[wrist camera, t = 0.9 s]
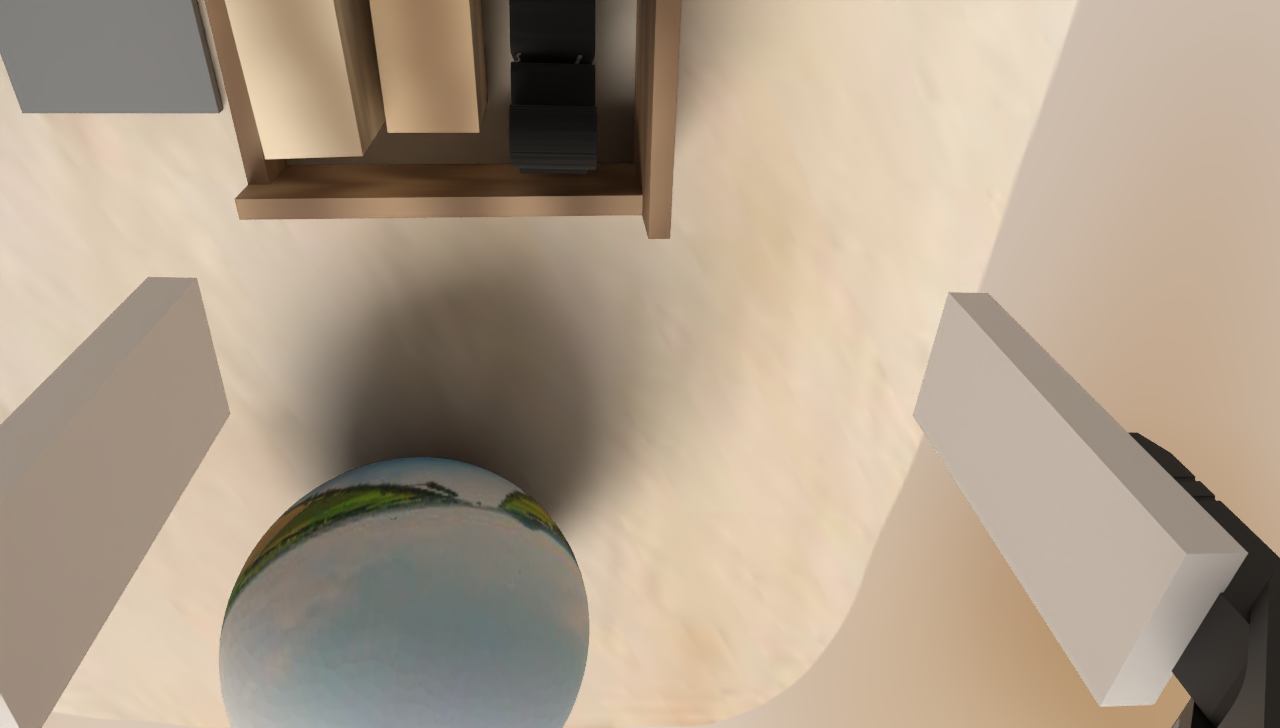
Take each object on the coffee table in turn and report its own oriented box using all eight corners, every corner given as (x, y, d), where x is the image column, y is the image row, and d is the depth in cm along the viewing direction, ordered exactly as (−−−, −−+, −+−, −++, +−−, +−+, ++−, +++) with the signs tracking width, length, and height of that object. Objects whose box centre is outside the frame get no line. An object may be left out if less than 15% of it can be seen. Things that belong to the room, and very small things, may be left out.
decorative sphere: (622, 431, 53) (657, 699, 36) (537, 633, 62) (532, 921, 45) (303, 357, 48) (168, 628, 31) (263, 589, 57) (141, 895, 40)
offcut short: (407, 99, 41) (387, 132, 36) (379, -134, 35) (351, -133, 30) (487, 99, 41) (479, 132, 36) (471, -131, 36) (458, -130, 31)
